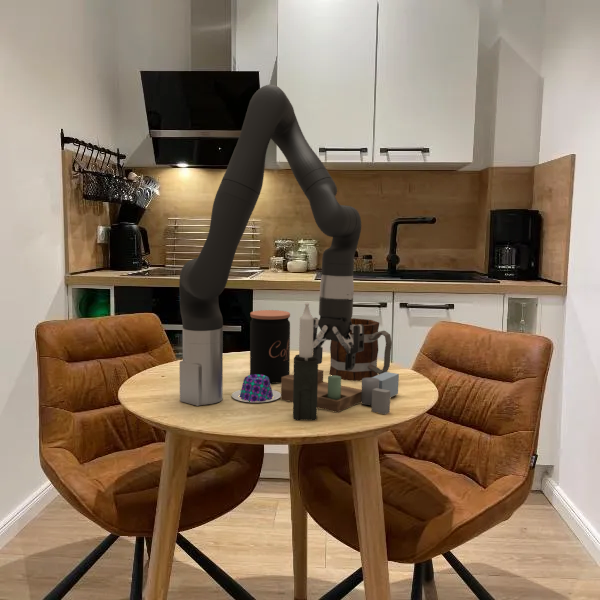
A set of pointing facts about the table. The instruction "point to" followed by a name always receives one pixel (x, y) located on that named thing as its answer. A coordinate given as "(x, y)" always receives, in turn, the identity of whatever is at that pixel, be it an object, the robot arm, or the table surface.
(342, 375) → the mug
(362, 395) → the hinged leg
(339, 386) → the dowel leg
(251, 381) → the pudding
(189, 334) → the robot arm
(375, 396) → the block
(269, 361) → the coffee jar
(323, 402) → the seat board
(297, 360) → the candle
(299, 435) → the table surface
